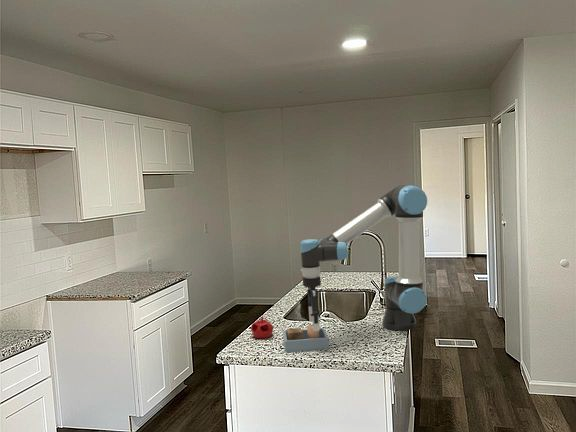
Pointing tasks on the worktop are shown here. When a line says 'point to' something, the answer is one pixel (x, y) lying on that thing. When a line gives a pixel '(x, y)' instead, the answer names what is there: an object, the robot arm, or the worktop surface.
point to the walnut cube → (294, 334)
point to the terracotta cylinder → (312, 332)
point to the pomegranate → (262, 328)
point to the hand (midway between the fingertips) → (314, 325)
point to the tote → (307, 342)
